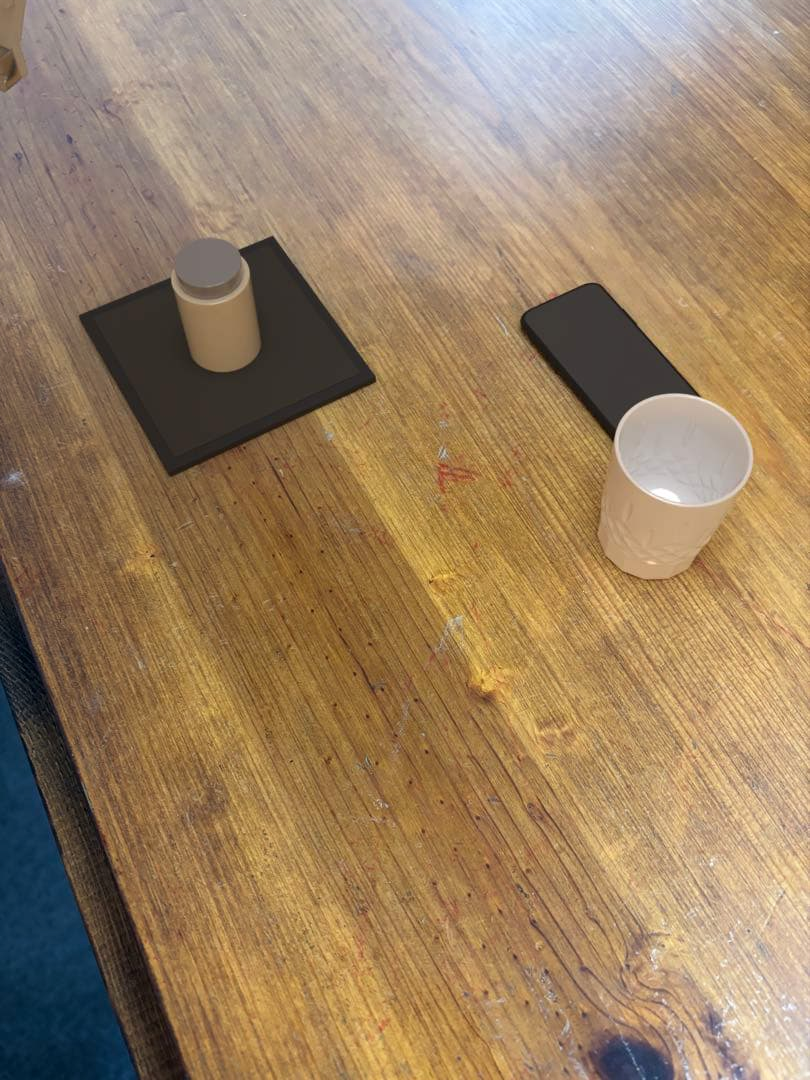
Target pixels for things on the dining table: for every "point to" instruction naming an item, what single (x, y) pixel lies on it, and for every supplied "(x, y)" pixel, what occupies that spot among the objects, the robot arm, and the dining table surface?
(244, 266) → the salt shaker
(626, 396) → the smartphone
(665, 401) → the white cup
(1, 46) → the robot arm
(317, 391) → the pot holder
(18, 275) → the dining table surface
